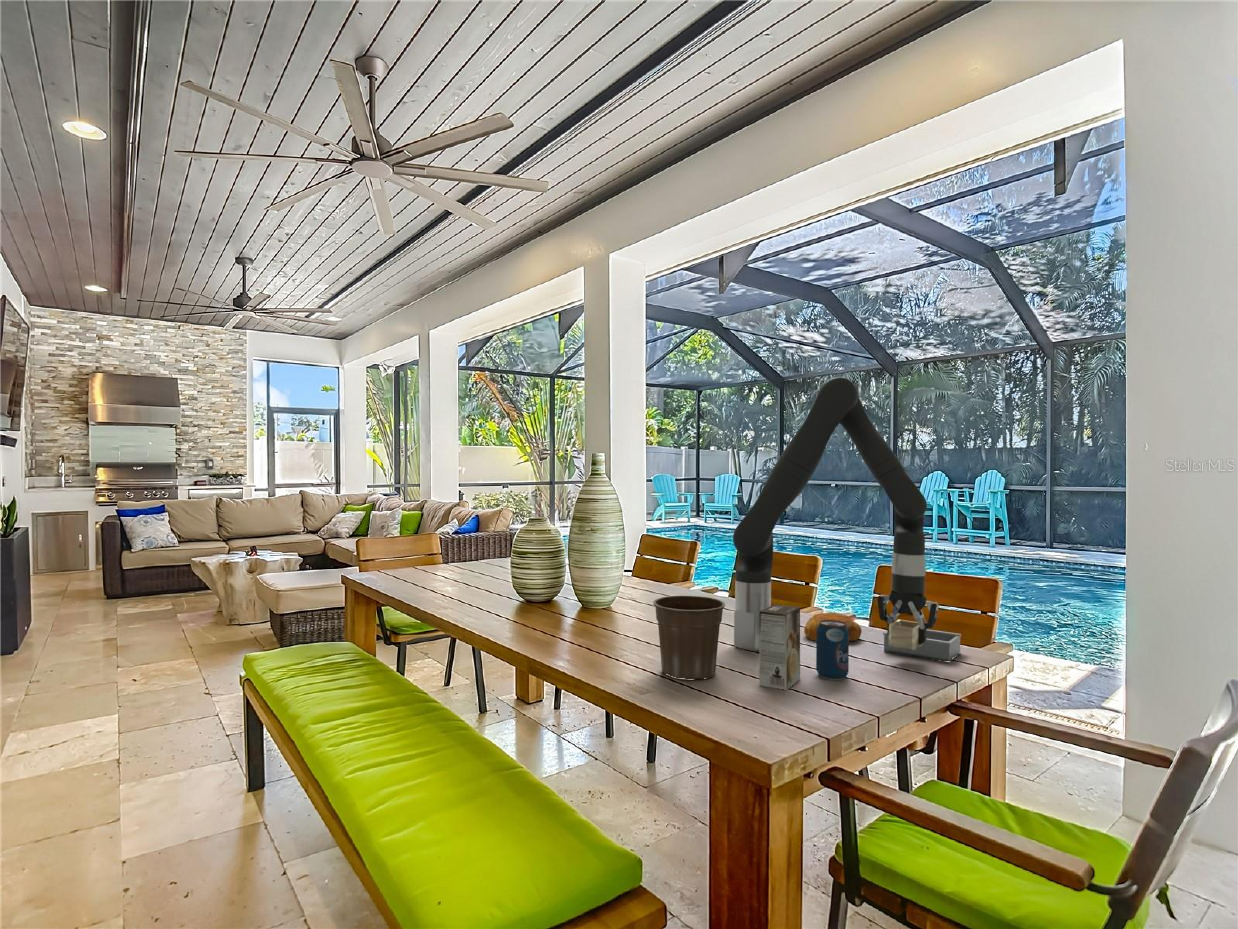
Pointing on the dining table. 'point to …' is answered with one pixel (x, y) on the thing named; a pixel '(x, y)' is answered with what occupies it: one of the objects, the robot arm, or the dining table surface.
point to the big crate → (931, 646)
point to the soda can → (832, 650)
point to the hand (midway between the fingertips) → (906, 641)
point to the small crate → (904, 634)
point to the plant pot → (688, 635)
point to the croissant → (852, 626)
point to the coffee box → (779, 646)
